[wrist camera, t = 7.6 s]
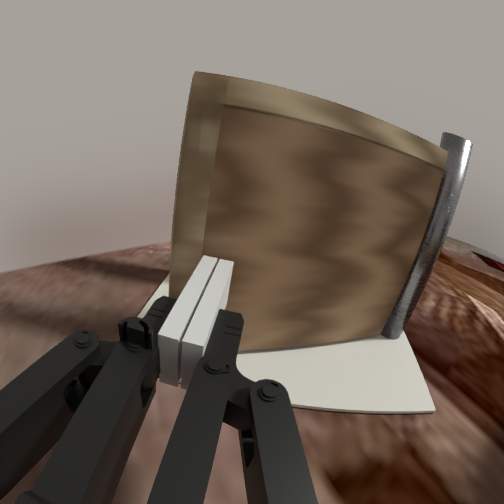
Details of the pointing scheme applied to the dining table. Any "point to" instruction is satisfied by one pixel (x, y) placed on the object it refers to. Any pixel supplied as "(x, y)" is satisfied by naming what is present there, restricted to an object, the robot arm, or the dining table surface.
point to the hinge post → (432, 233)
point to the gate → (299, 209)
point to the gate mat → (339, 373)
